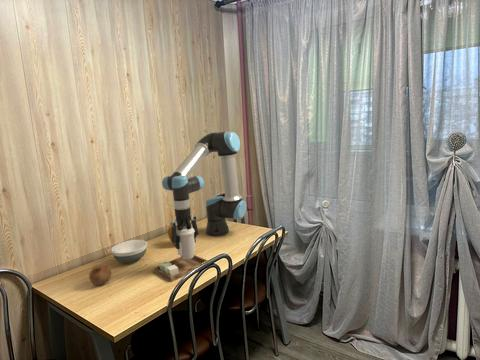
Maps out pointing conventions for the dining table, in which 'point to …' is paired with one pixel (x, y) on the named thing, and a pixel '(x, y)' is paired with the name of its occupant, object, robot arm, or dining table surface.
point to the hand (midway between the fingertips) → (186, 251)
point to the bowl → (129, 251)
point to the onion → (100, 274)
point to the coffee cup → (186, 242)
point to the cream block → (172, 270)
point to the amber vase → (171, 233)
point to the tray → (181, 267)
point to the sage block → (165, 266)
